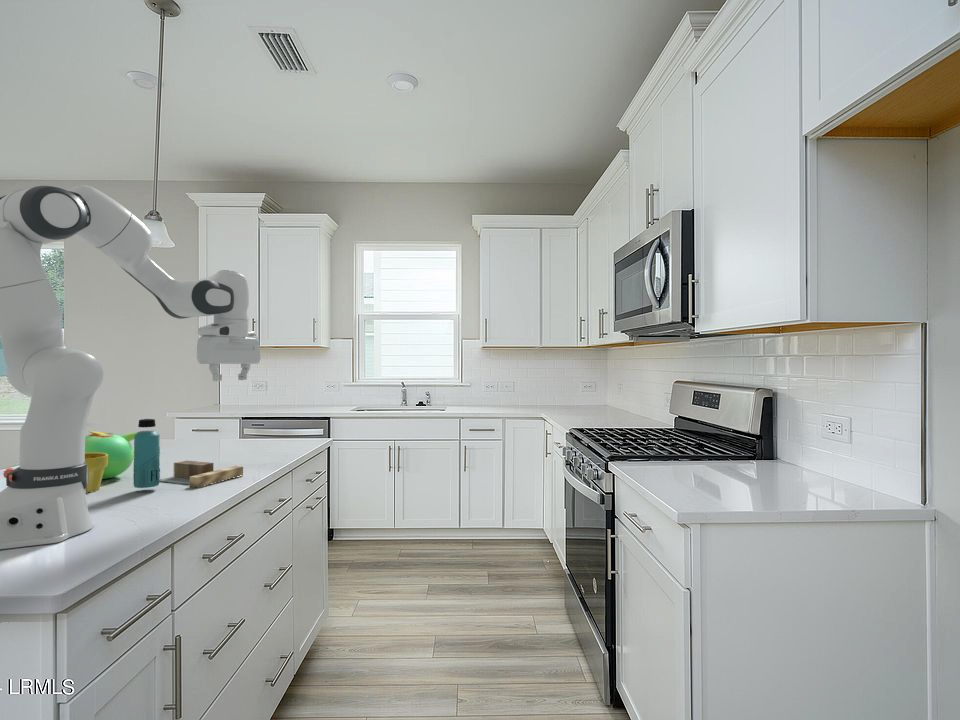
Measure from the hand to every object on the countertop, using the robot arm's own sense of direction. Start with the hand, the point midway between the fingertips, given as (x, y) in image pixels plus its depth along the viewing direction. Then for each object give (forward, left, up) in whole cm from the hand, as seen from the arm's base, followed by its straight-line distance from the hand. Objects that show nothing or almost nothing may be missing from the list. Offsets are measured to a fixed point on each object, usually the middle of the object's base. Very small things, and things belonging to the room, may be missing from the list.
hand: (230, 380), depth 156 cm
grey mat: (-2, +25, -31) cm, 40 cm away
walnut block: (0, +20, -28) cm, 35 cm away
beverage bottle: (-17, +16, -31) cm, 39 cm away
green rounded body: (-24, +42, -31) cm, 58 cm away
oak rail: (+2, +17, -31) cm, 36 cm away
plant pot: (-30, +26, -31) cm, 51 cm away
